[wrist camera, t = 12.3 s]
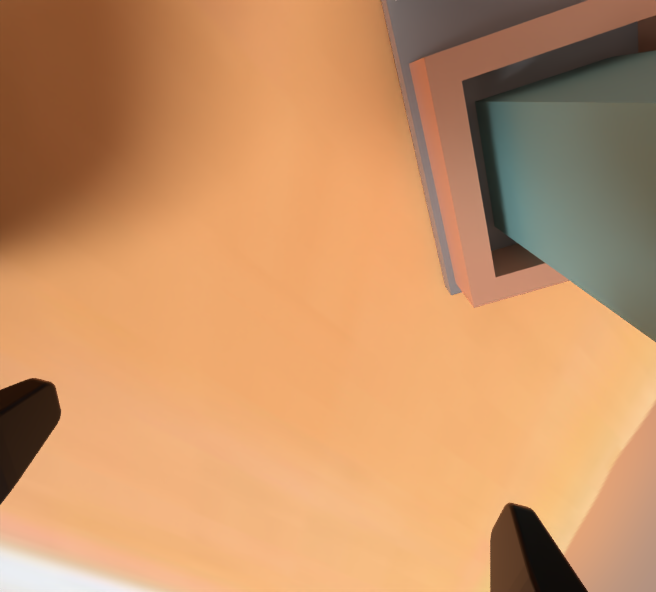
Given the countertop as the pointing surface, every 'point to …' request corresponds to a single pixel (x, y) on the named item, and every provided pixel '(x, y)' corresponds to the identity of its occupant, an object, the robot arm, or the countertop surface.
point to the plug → (582, 177)
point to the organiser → (482, 82)
